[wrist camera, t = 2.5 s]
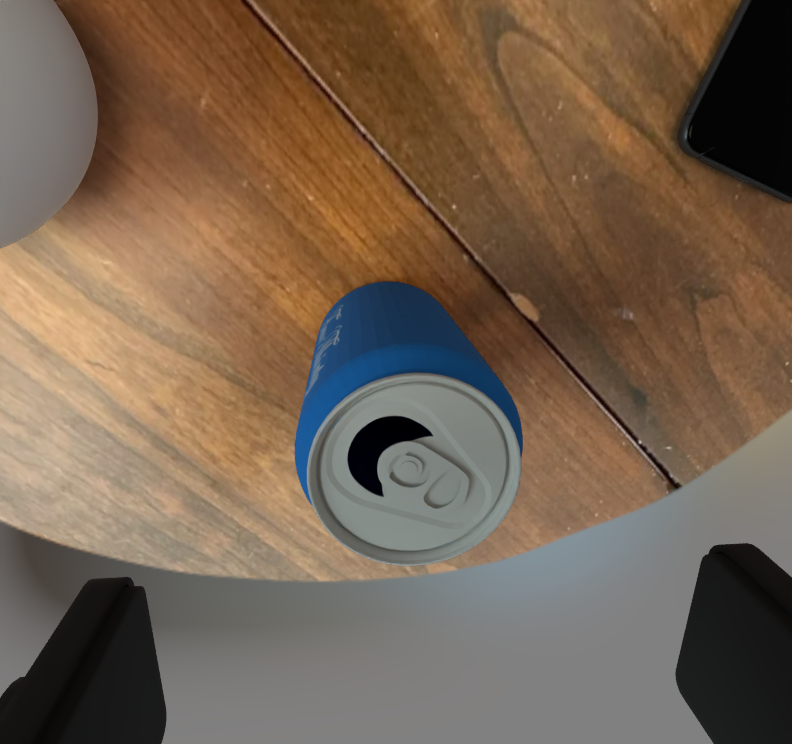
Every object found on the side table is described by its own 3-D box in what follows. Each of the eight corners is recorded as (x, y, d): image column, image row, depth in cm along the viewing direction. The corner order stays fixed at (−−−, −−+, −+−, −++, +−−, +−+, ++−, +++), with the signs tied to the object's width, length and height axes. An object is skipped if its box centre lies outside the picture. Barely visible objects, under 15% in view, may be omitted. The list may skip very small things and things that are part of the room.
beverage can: (370, 249, 24) (389, 304, 12) (482, 331, 25) (587, 447, 14) (289, 363, 25) (240, 506, 14) (400, 434, 27) (437, 614, 15)
